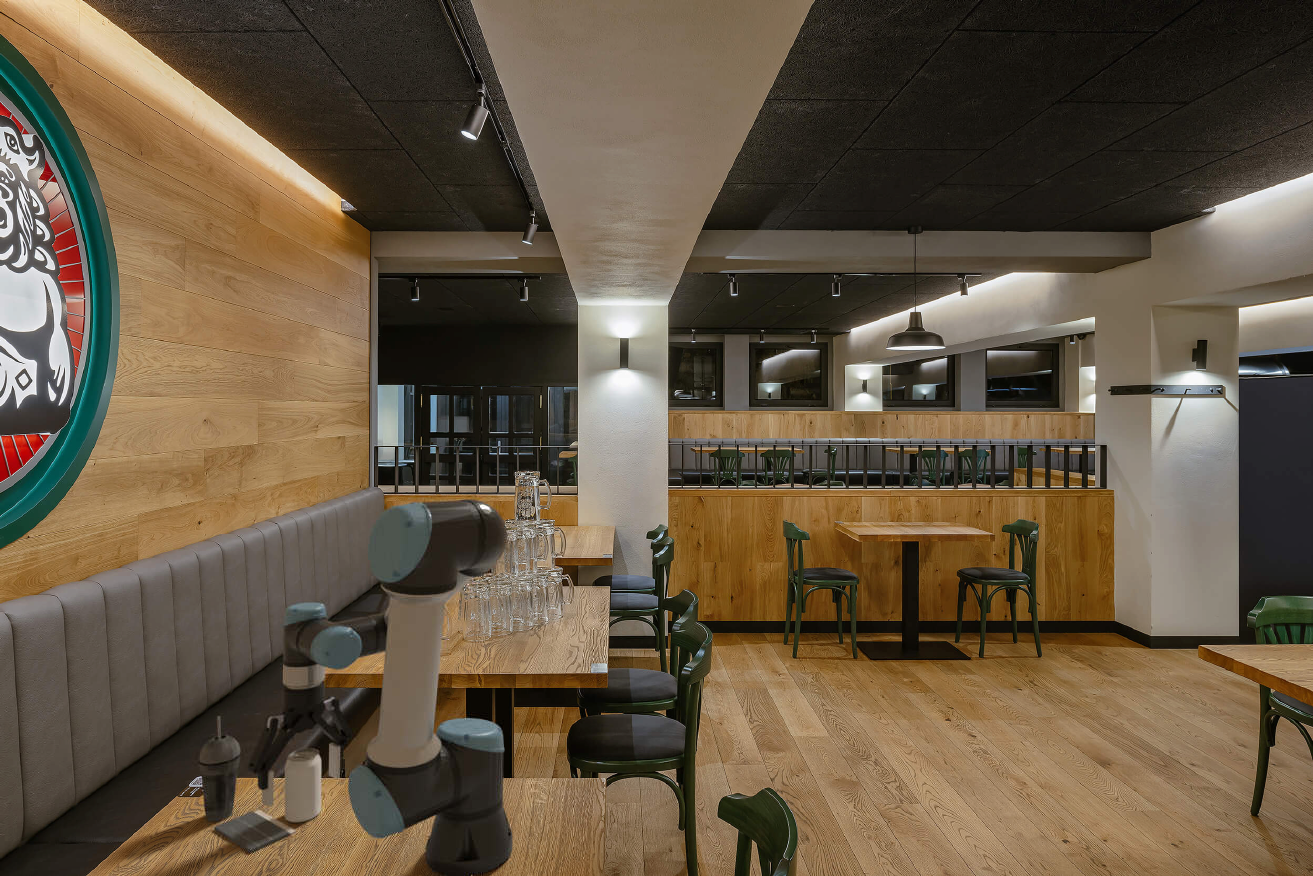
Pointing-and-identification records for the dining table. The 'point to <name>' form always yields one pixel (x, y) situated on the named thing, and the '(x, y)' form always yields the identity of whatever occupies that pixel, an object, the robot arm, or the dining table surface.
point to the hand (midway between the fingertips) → (302, 790)
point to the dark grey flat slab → (254, 830)
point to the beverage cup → (219, 775)
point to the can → (302, 785)
